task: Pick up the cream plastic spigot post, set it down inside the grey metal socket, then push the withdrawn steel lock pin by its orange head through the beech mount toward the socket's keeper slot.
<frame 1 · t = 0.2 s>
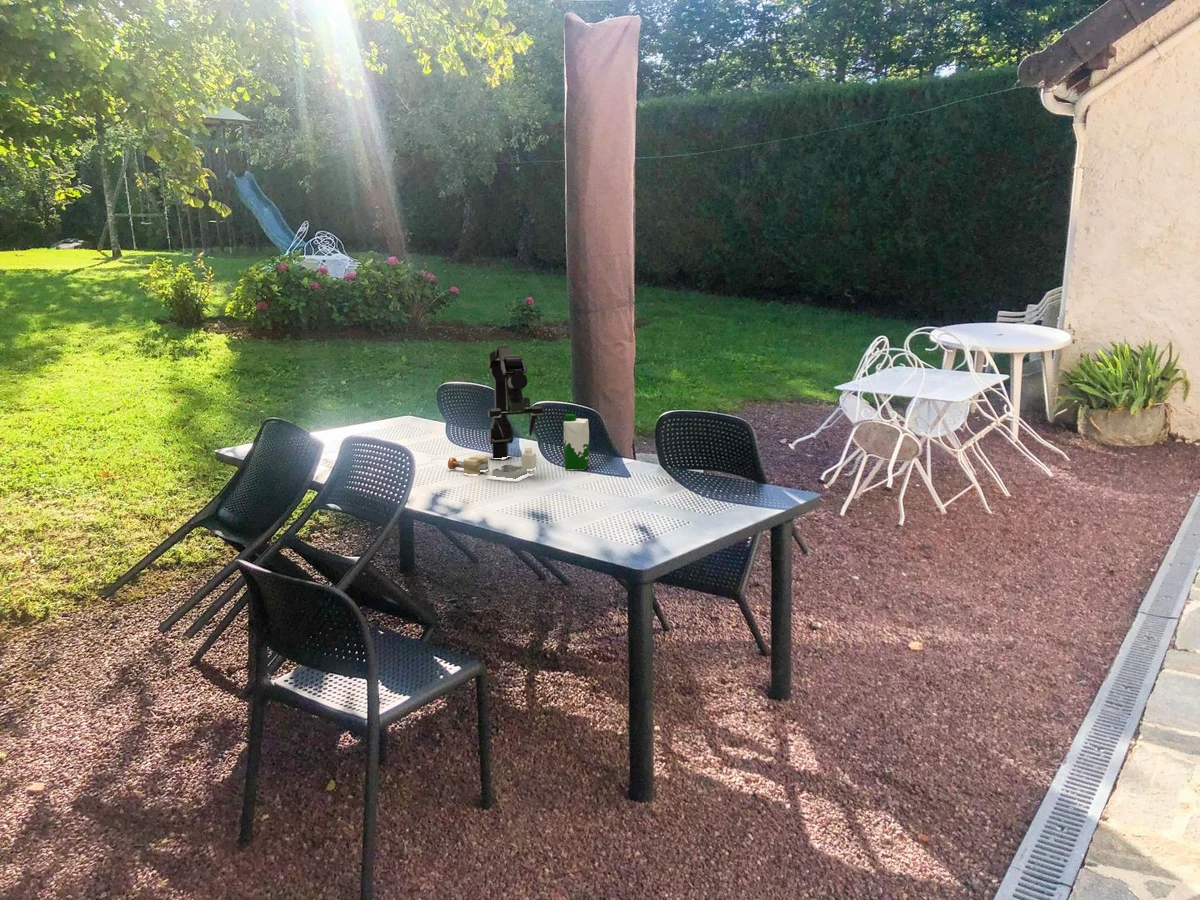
hand: (517, 436, 330), 15 cm above the table, tool pointing down, fingers open, 9 cm apart
mount: (476, 473, 342), on the table
milk carton: (576, 468, 349), on the table
lock pin: (468, 465, 343), point 2 cm above the table, slide at 0.0 cm
socket: (510, 476, 337), on the table
spigot: (529, 469, 347), on the table
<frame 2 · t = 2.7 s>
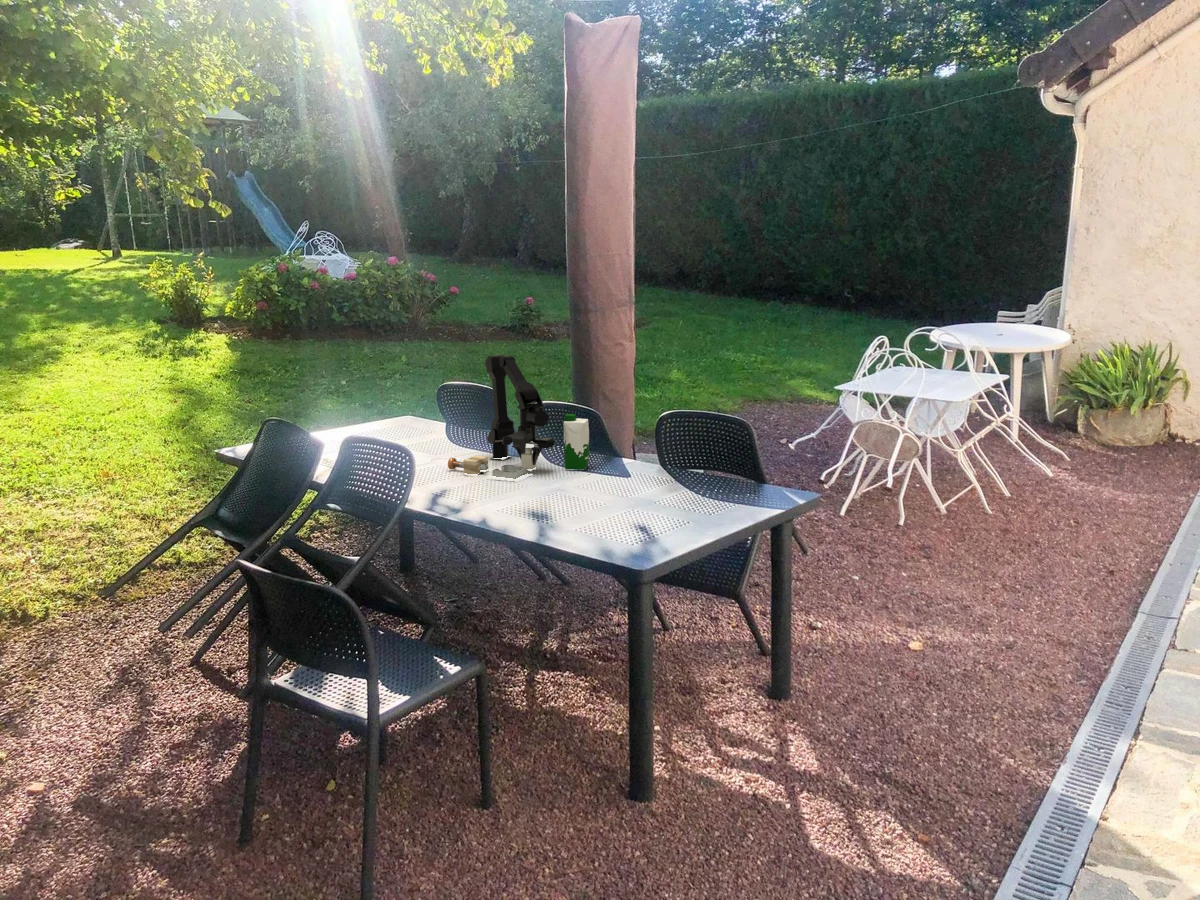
hand: (528, 464, 346), 2 cm above the table, tool pointing down, fingers closed on spigot, 4 cm apart
spigot: (528, 469, 347), on the table, touching gripper
everything else where it was.
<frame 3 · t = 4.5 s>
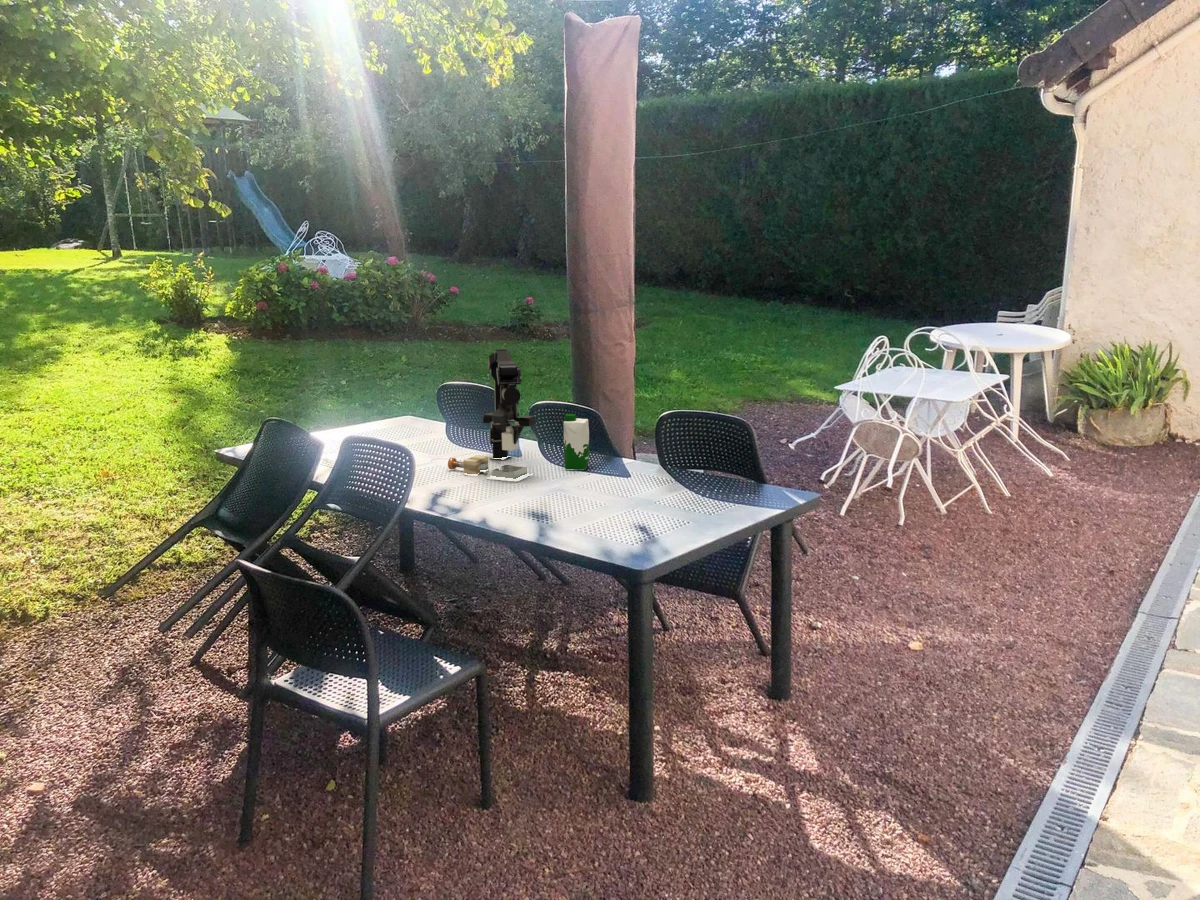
hand: (509, 443, 334), 12 cm above the table, tool pointing down, fingers closed on spigot, 4 cm apart
spigot: (509, 449, 335), point 10 cm above the table, touching gripper
everything else where it was.
when the fingers open (4 cm above the table, at t = 6.2 s): spigot drops 1 cm, resting on socket.
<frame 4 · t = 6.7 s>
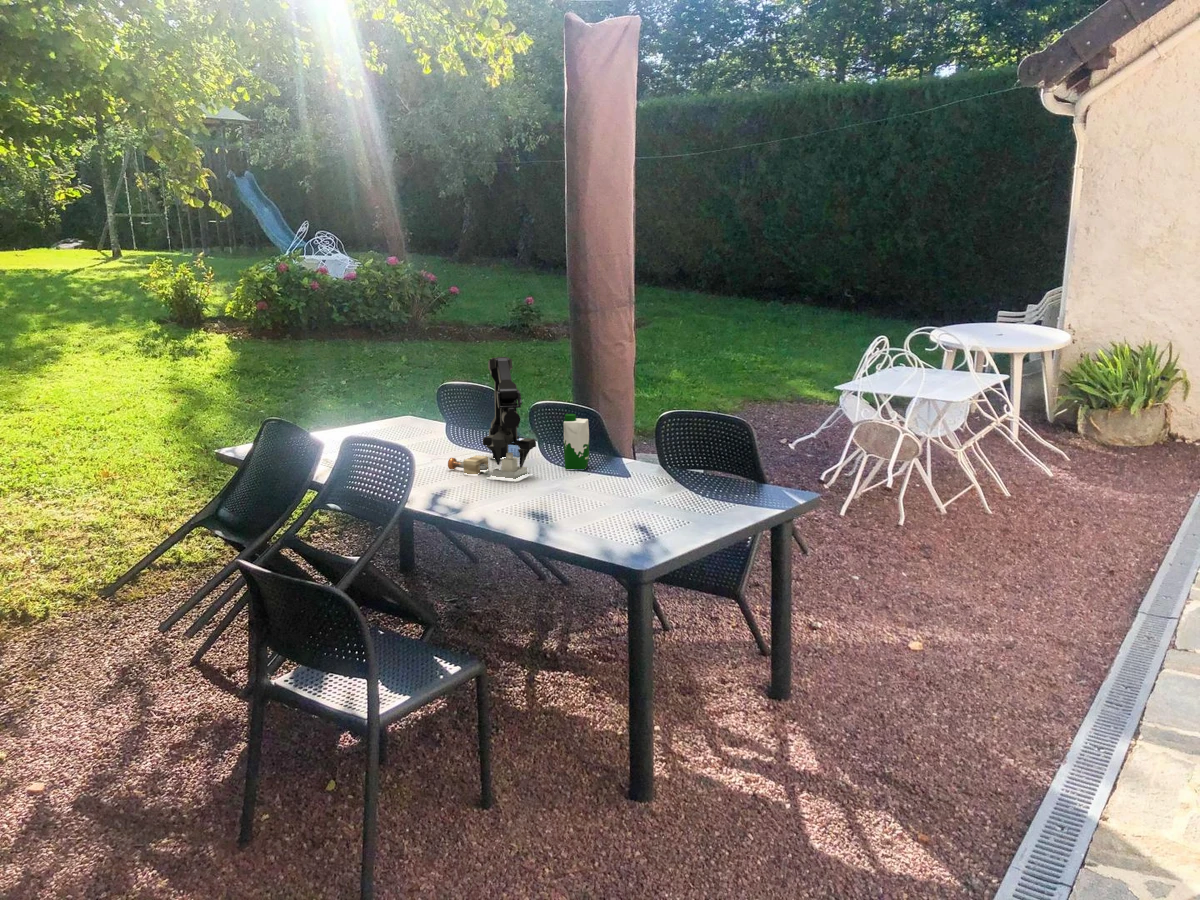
hand: (509, 465, 336), 4 cm above the table, tool pointing down, fingers open, 9 cm apart
spigot: (510, 475, 337), point 1 cm above the table, touching socket
everything else where it was.
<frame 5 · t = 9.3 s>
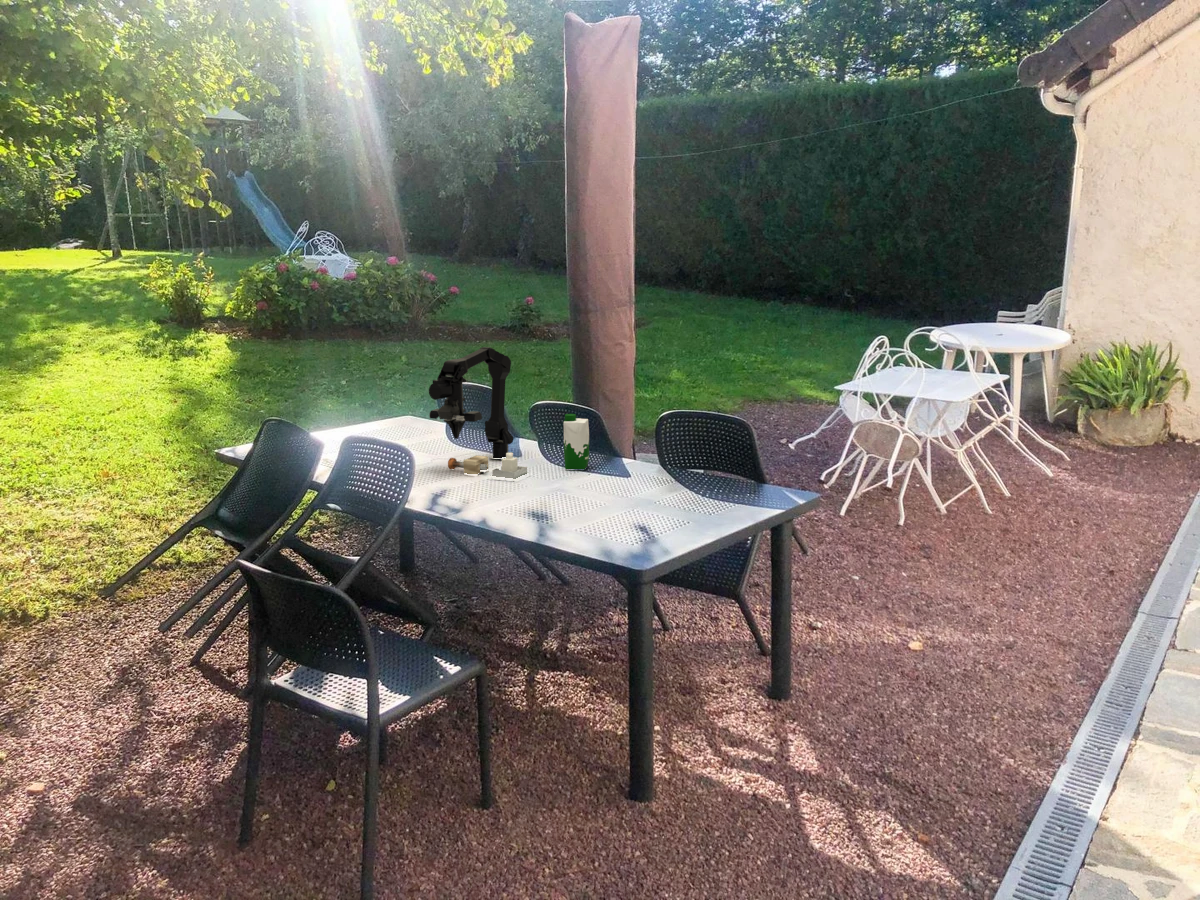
hand: (456, 438, 343), 12 cm above the table, tool pointing down, fingers closed
nothing on the table moved.
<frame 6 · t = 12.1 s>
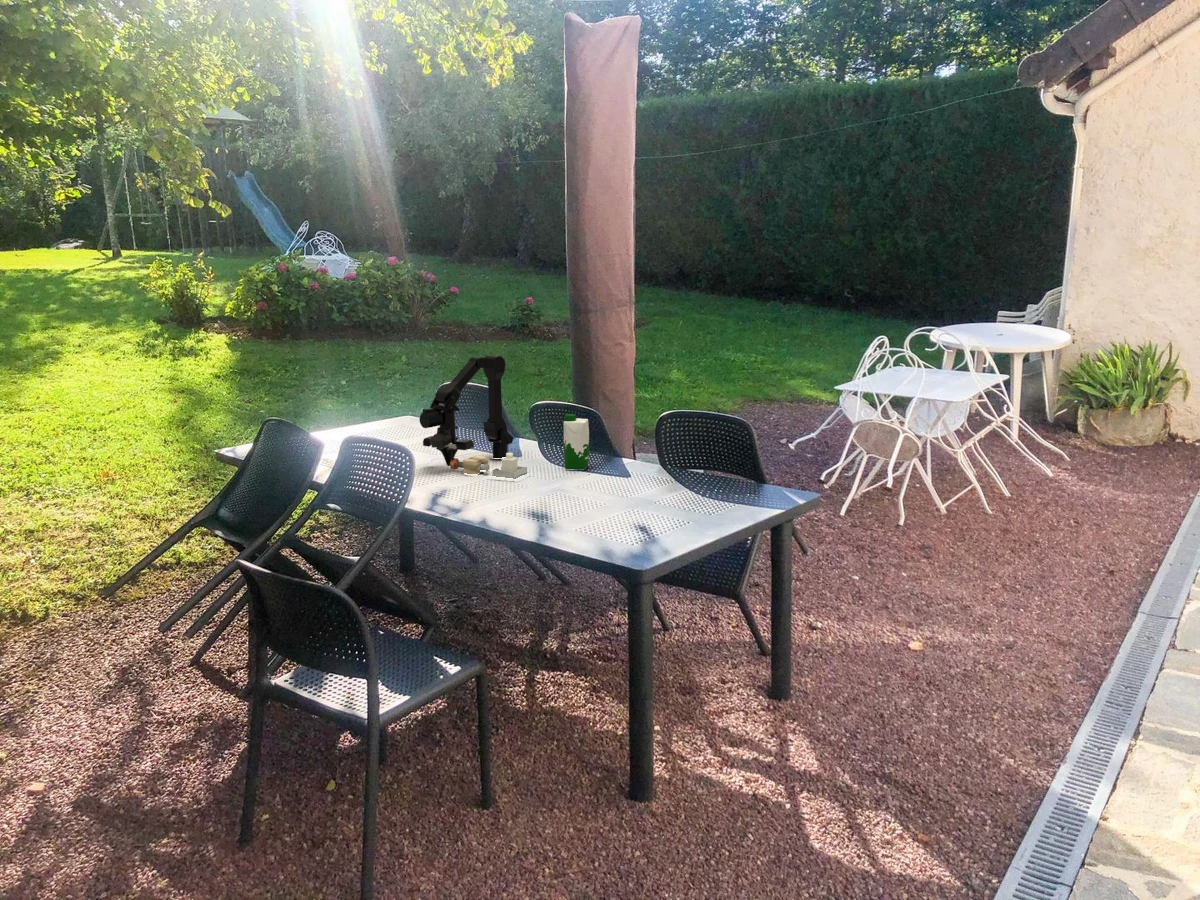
hand: (449, 466, 347), 1 cm above the table, tool pointing down, fingers closed
lock pin: (470, 465, 343), point 3 cm above the table, slide at 1.0 cm, touching gripper
everything else where it was.
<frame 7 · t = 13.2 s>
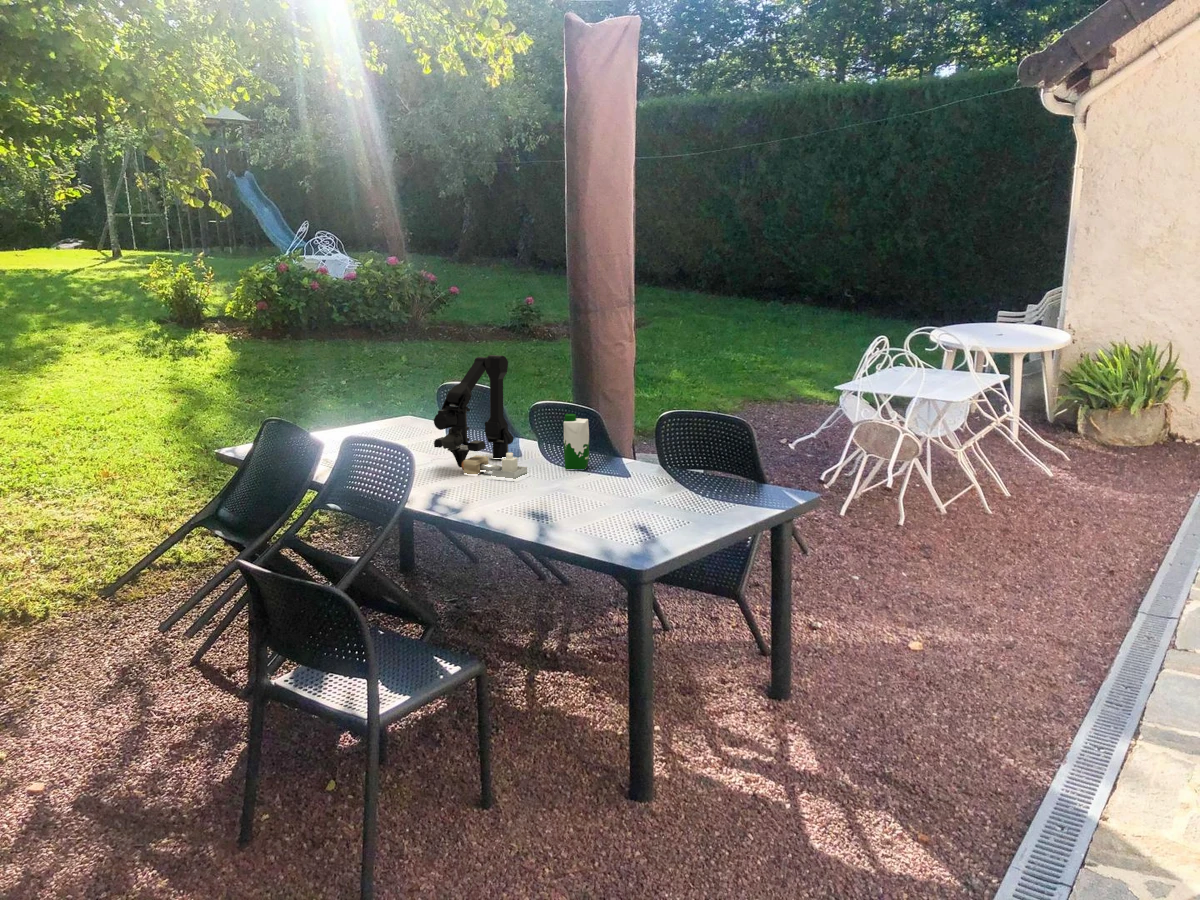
hand: (460, 467, 345), 1 cm above the table, tool pointing down, fingers closed
lock pin: (482, 466, 341), point 3 cm above the table, slide at 5.9 cm, touching gripper
everything else where it was.
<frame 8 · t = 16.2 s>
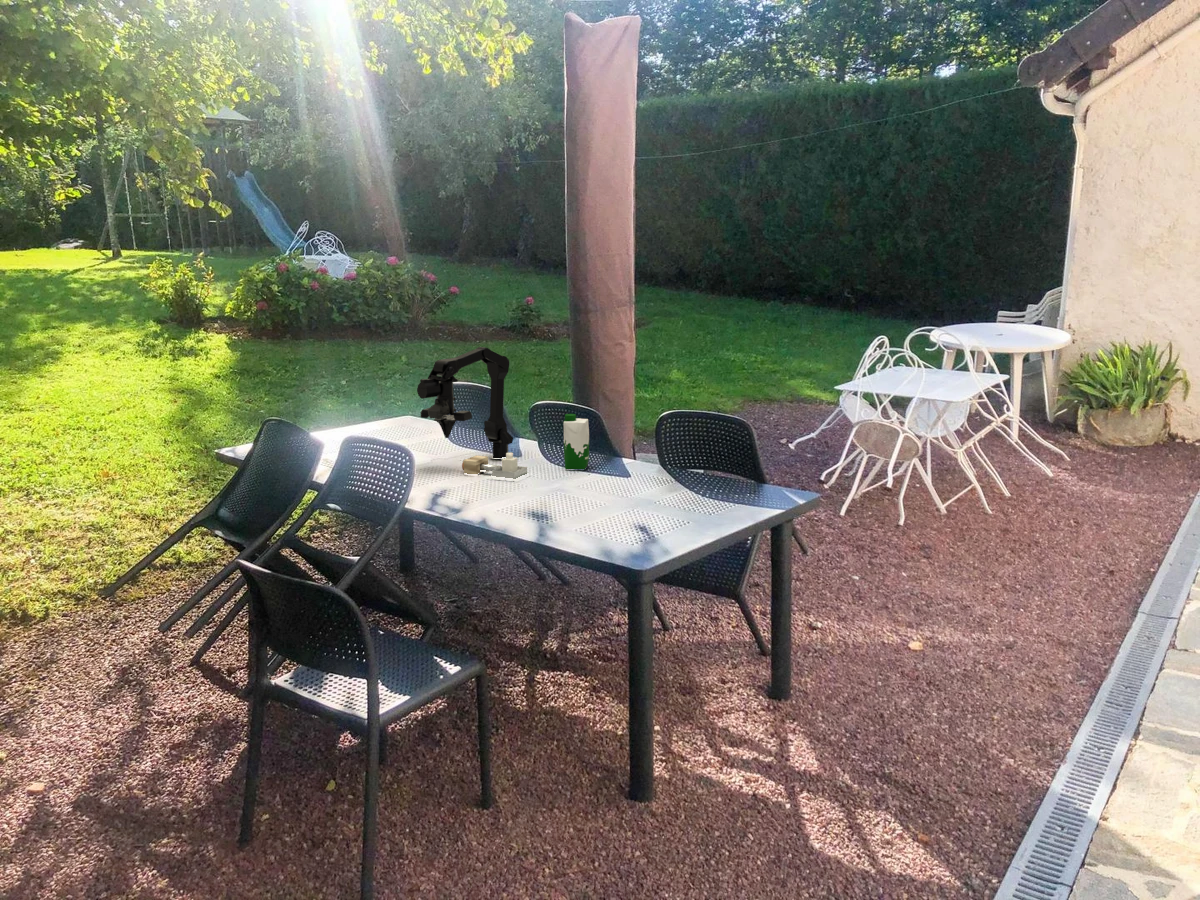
hand: (447, 437, 345), 12 cm above the table, tool pointing down, fingers closed
lock pin: (482, 467, 341), point 3 cm above the table, slide at 6.0 cm
everything else where it was.
at the end: spigot 0.1 cm off-centre on the socket, point 0.6 cm above the socket's base; spigot tilted 0°; lock pin slide at 6.0 cm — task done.
